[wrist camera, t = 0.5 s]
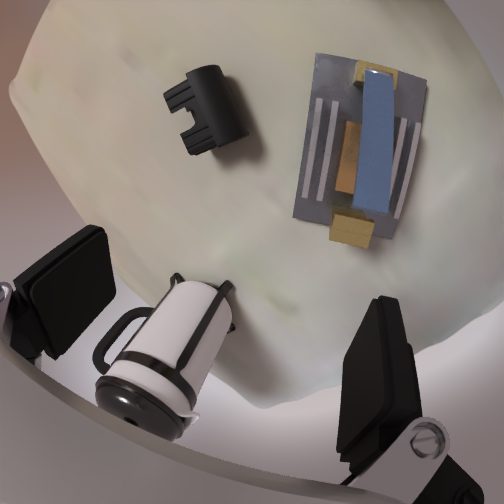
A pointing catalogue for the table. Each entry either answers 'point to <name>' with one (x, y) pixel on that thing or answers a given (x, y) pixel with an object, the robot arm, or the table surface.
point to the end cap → (207, 110)
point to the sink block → (352, 149)
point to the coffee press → (164, 358)
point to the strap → (375, 143)
